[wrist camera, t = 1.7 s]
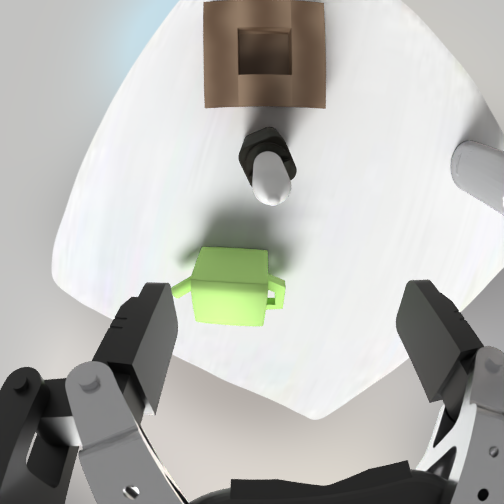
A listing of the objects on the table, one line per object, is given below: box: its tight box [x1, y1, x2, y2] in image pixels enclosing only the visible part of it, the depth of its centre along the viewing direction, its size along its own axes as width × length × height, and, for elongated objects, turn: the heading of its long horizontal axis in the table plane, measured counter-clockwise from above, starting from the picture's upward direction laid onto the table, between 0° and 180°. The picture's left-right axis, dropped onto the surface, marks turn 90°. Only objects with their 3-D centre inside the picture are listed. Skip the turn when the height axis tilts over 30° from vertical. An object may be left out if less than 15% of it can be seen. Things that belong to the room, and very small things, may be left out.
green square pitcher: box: [171, 247, 285, 326], centre depth 47 cm, size 18×10×10 cm, turn 88°
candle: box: [239, 127, 296, 206], centre depth 30 cm, size 5×5×25 cm
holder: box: [203, 0, 326, 109], centre depth 33 cm, size 15×15×5 cm
